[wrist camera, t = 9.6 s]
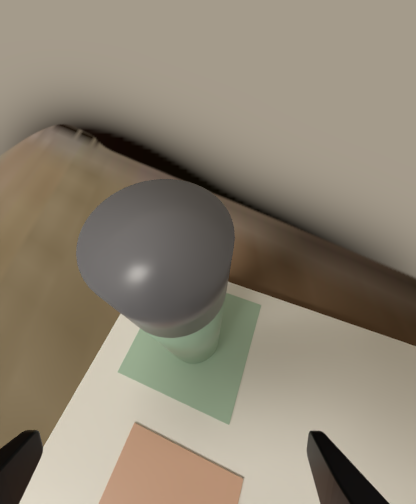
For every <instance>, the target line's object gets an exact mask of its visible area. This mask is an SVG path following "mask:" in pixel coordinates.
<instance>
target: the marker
mask: <svg viewBox="0 0 416 504" xmlns="http://www.w3.org/2000/svg"><path fill="white" fill-rule="evenodd" d="M234 239H235V236H234V226H233V222H232V219H231V216H230V214H229V212H228V210H227V209H226V207H225V206H224V205H223V203H222V202H221V201H220V200H219V199H218V198H217V197H216V196H215V195H213V194H212V193H211V192H209V191H208V190H206V189H204V188H202V187H200V186H198V185H196V184H193V183H189V182H186V181H181V180H173V179H158V180H150V181H144V182H141V183H137V184H134V185H131V186H128V187H126V188H124V189H122V190H120V191H118V192H116V193H114V194H113V195H111V196H110V197H108V198H107V199H106V200H104V201H103V202H102V203H101V204H100V205H99V206H98V207H97V208H96V209H95V210H94V211H93V212H92V213H91V214H90V216H89V217H88V219H87V220H86V222H85V224H84V225H83V227H82V230H81V232H80V235H79V238H78V242H77V251H76V256H77V264H78V267H79V271H80V273H81V275H82V277H83V279H84V281H85V282H86V284H87V285H88V286H89V288H90V289H92V290H93V291H94V292H95V293H96V294H97V295H98V296H99V297H101V298H102V299H103V300H104V301H106V302H107V303H108V304H110V305H111V306H112V307H113V308H115V309H116V310H117V311H118V312H120V313H121V314H122V315H124V316H125V317H126V318H127V319H129V320H130V321H131V322H133V323H134V324H135V325H136V326H138V327H139V328H140V329H142V330H143V331H144V332H145V333H147V334H148V335H149V336H150V337H152V338H153V339H154V340H156V341H157V342H158V343H159V344H161V345H162V346H163V347H165V348H166V349H167V350H168V351H170V352H171V353H172V354H174V355H175V356H176V357H177V358H179V359H180V360H182V361H184V362H186V363H190V364H196V363H201V362H203V361H205V360H207V359H208V358H210V357H211V356H212V355H213V353H214V352H215V350H216V348H217V345H218V341H219V335H220V329H221V323H222V316H223V310H224V304H225V298H226V291H227V285H228V279H229V273H230V266H231V260H232V254H233V248H234Z"/></svg>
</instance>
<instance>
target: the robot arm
mask: <svg viewBox="0 0 416 504" xmlns="http://www.w3.org/2000/svg"><path fill="white" fill-rule="evenodd" d="M42 453H43V445H42V441H41V437H40V433H39V431H37V430H26V431H24V432H22V433H20V434H19V435H18V436H17V437H15V438H14V439H13V440H11V441H10V442H9V443H7V444H6V445H5V446H3V447H2V448H1V449H0V504H19V503H20V501H21V499H22V497H23V495H24V493H25V490H26V488H27V486H28V484H29V482H30V480H31V478H32V476H33V474H34V471H35V469H36V467H37V465H38V463H39V461H40V459H41V456H42ZM307 457H308V461H309V464H310V468H311V472H312V475H313V479H314V483H315V486H316V490H317V493H318V497H319V501H320V504H389V502H388V501H387V500H386V499H385V498H384V497H383V496H382V495H381V494H380V493H379V492H378V491H377V489H376V488H375V487H374V486H373V485H372V484H371V483H370V482H369V481H368V480H367V479H366V478H365V477H364V475H363V474H362V473H361V472H360V471H359V470H358V469H357V468H356V467H355V466H354V465H353V464H352V462H351V461H350V460H349V459H348V458H347V457H346V456H345V455H344V454H343V453H342V452H341V451H340V449H339V448H338V447H337V446H336V445H335V444H334V443H333V442H332V441H331V440H330V439H329V438H328V436H327V435H326V434H325V433H324V432H322V431H310V432H309V434H308V441H307Z"/></svg>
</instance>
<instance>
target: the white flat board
mask: <svg viewBox="0 0 416 504" xmlns="http://www.w3.org/2000/svg"><path fill="white" fill-rule="evenodd" d="M310 431H322V432H324V433H325V434H326V435H327V436H328V438H329V439H330V440H331V441H332V442H333V443H334V444H335V445H336V446H337V447H338V448H339V449H340V451H341V452H342V453H343V454H344V455H345V456H346V457H347V458H348V459H349V460H350V461H351V462H352V464H353V465H354V466H355V467H356V468H357V469H358V470H359V471H360V472H361V473H362V474H363V475H364V477H365V478H366V479H367V480H368V481H369V482H370V483H371V484H372V485H373V486H374V487H375V488H376V489H377V491H378V492H379V493H380V494H381V495H382V496H383V497H384V498H385V499H386V500H387V501H388V502H389V504H416V346H413V345H410V344H408V343H405V342H402V341H399V340H396V339H393V338H390V337H387V336H384V335H381V334H378V333H376V332H373V331H370V330H367V329H364V328H361V327H358V326H355V325H352V324H349V323H347V322H344V321H341V320H338V319H335V318H332V317H329V316H326V315H323V314H320V313H317V312H315V311H312V310H309V309H306V308H303V307H300V306H297V305H294V304H291V303H288V302H286V301H283V300H280V299H277V298H274V297H271V296H268V295H265V294H262V293H259V292H256V291H254V290H251V289H248V288H245V287H242V286H239V285H236V284H233V283H230V282H228V285H227V291H226V298H225V304H224V310H223V316H222V323H221V329H220V335H219V341H218V345H217V348H216V350H215V352H214V353H213V355H212V356H211V357H210V358H208V359H207V360H205V361H203V362H201V363H196V364H190V363H186V362H184V361H182V360H180V359H179V358H177V357H176V356H175V355H174V354H172V353H171V352H170V351H168V350H167V349H166V348H165V347H163V346H162V345H161V344H159V343H158V342H157V341H156V340H154V339H153V338H152V337H150V336H149V335H148V334H147V333H145V332H144V331H143V330H142V329H140V328H139V327H138V326H136V325H135V324H134V323H133V322H131V321H130V320H129V319H127V318H126V317H125V316H124V315H122V314H120V316H119V317H118V319H117V321H116V323H115V324H114V326H113V328H112V330H111V331H110V333H109V335H108V337H107V338H106V340H105V342H104V343H103V345H102V347H101V349H100V350H99V352H98V354H97V356H96V357H95V359H94V361H93V362H92V364H91V366H90V368H89V369H88V371H87V373H86V375H85V376H84V378H83V380H82V381H81V383H80V385H79V387H78V388H77V390H76V392H75V394H74V395H73V397H72V399H71V400H70V402H69V404H68V406H67V407H66V409H65V411H64V413H63V414H62V416H61V418H60V419H59V421H58V423H57V425H56V426H55V428H54V430H53V432H52V433H51V435H50V437H49V438H48V440H47V442H46V444H45V445H44V447H43V453H42V456H41V459H40V461H39V463H38V465H37V467H36V469H35V471H34V474H33V476H32V478H31V480H30V482H29V484H28V486H27V488H26V490H25V493H24V495H23V497H22V499H21V501H20V503H19V504H320V501H319V497H318V493H317V490H316V486H315V483H314V479H313V475H312V472H311V468H310V464H309V461H308V457H307V441H308V434H309V432H310Z"/></svg>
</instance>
